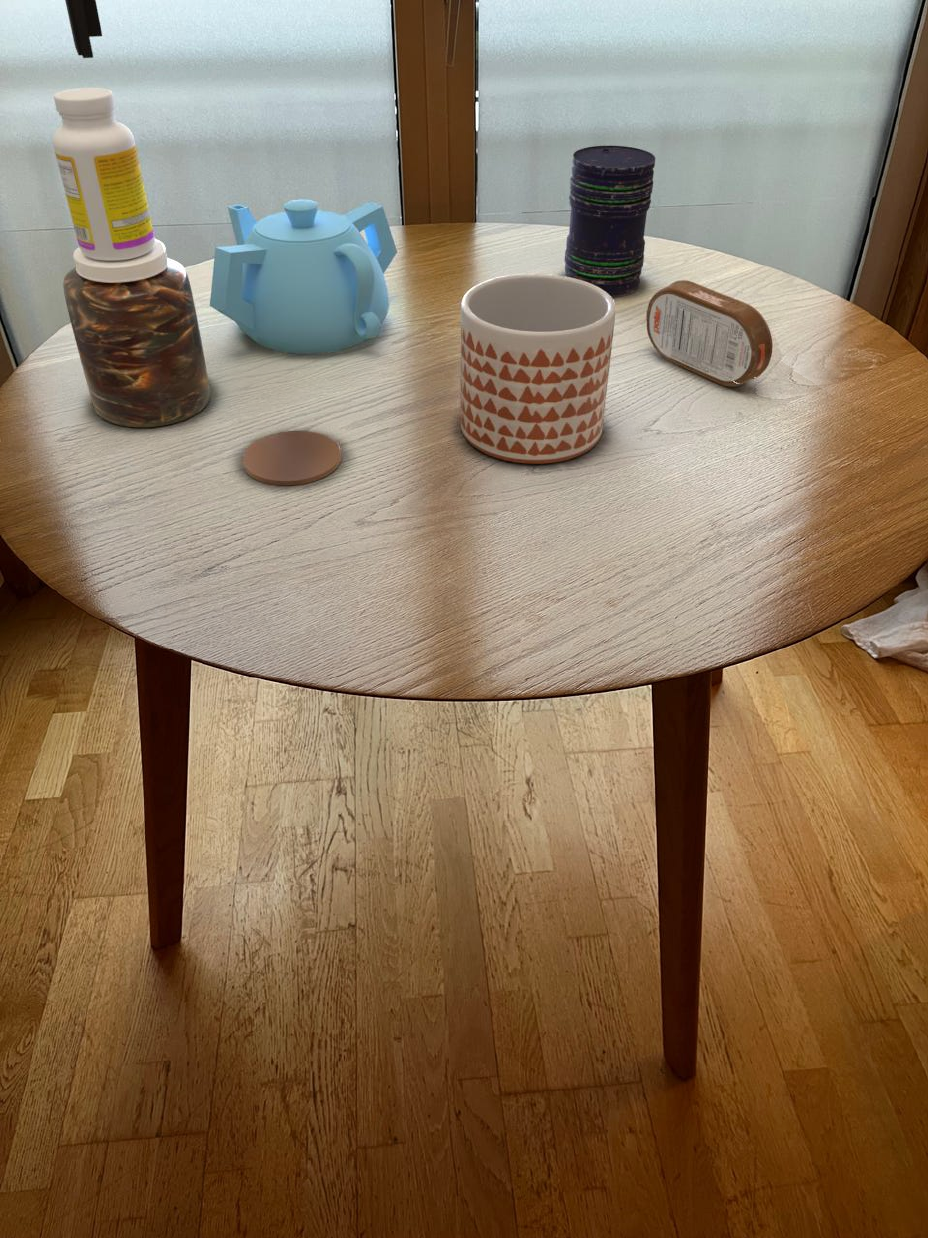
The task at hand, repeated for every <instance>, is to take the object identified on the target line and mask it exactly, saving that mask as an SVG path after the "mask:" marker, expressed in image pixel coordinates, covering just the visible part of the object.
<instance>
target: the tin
mask: <svg viewBox="0 0 928 1238" xmlns="http://www.w3.org/2000/svg"><path fill="white" fill-rule="evenodd" d="M645 319H646V320H645V321H646V332H647V335H648V338H649V341H650V343H651V345H652V347H653V348H654V349H655V351H656V352H657V353H658V355H660V356H661V357H662V358H664V359H665V360H667V361H668V362H671V363H673V364H675V365H677V366H679V367H682V368H684V369H686V370H688V371H690V372H693V373H695V374H696V375H699V376H701V377H703V378H706V379H707V380H709V381H712V382H714V383H716V384H718V385H721V386H725V387H737V386H741V385H742V384H741V383H743V384H745V383H747V382H749V381H751V380H754V379H755V378H754V377H756V378H758V377H760V376H761V375H762V374H763V373H764V372H765V371H766V369H768V367H769V364H770V362H771V360H772V356H773V348H774V347H773V338H772V332H771V330H770V327H769V325H768V323H767V321H766V319H765V318H764V316H763V315H762V314H761V313H760V312H759V311H758V309H756V308H755V307H754V306H753V305H750V304H749V303H746V302H744V301H742V300H739V299H736V298H734V297H731V296H729V295H726V294H723V293H721V292H718V291H716V290H714V289H711V288H709V287H706V286H703V285H701V284H699V283H696V282H693V281H691V280H685V279H684V280H683V279H682V280H676V281H674V282H672V283H670V284H669V285H668V286H666V287H663V288H661V289H659V290H658V291H657V292H656V293H654V294H653V296H651V298H650V299H649V301H648V305H647V309H646V318H645ZM699 366H700V367H699ZM706 369H707V370H706ZM713 372H714V373H713ZM716 373H717V374H716ZM718 374H720V375H718ZM721 375H722V376H721ZM723 376H725V377H728V378H730V379H731V380H734V381H735V382H737V383H740V384H736V383H734V382H733V381H731V380H729V379H727V378H725V377H723Z"/></svg>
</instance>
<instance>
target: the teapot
mask: <svg viewBox="0 0 928 1238" xmlns="http://www.w3.org/2000/svg"><path fill="white" fill-rule="evenodd" d="M318 206H319V203H318V202H316V201H314V200H311V199H304V198H301V199H299V198H298V199H292V200H290V201H287V202H285V203H284V204H283V208H284V211H280V212H275V213H272V214H269V215H266V216H264V217H262V218H261V219H259V220H258V221H257V220H256V219H255V217H254V216H253V214H252V213H251V211H250V208H249V206H246V205H243V204H240V203H237V204H233V205H229V206H227V210H228V214H229V219H230V222H231V226H232V230H233V235H234V238H235V242H236V245H226V246H216V247H215V248H214V256H213V257H214V258H213V268H212V278H211V279H212V280H211V289H210V298H209V307H211V308H212V309H214V310H216V311H217V312H219V313H220V314H222V315H223V316H225V317H227V318H228V319H229V320H232V321H233V322H235V324H236V325H237V326H238V328H239V329H240V330H241V331H242V332H243V333H245V334H246V335H247V336H248V337H249V338H250V339H251V340H253V341H254V342H256V343H257V344H258V345H259V346H262V347H264V348H265V349H269V350H271V351H275V352H280V353H284V354H285V353H286V354H295V355H318V354H327V353H334V352H339V351H342V350H346V349H349V348H351V347H355V346H357V345H359V344H361V343H362V342H365V341H366V340H368V339H374V338H376V337H377V336H378V335H379V334H380V333H381V331H382V330H381V329H382V323H383V322H384V320H385V319H386V317H387V315H388V312H389V308H390V299H389V298H390V297H389V291H388V290H389V289H388V286H387V281H386V279H385V275H384V274H385V273H386V271H387V269H388V267H389V266H390V265H391V263H392V261H393V260H394V258H395V257H396V255H397V253H398V249H397V247H396V244H395V240H394V237H393V235H392V231H391V228H390V225H389V222H388V218H387V216H386V213H385V210H384V207H383V205H380V204H377V203H375V202H372V201H367V202H366V203H363V204H362V205H360V206H358V207H355V208H354V209H352V210H350V211H348V212H346V213H344V214H340V213H338V212H334V211H330V210H329V211H328V210H323V209H318ZM362 231H364V235H365V238H366V239H365V238H364V236H363V235H362V234H361V232H362Z"/></svg>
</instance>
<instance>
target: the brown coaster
mask: <svg viewBox="0 0 928 1238" xmlns="http://www.w3.org/2000/svg"><path fill="white" fill-rule="evenodd" d="M241 462H242V466H243V469H244V471H245V473H246V474H247V475H248V476H250V477H251V478H253V479H254V480H256V481H258V482H261V483H263V484H268V485H272V486H273V485H274V486H299V485H305V484H310V483H313V482H316V481H318V480H322V479H324V478H326V477H327V476H329V475H330V474H331V475H332V473H333V472H334V471H335V470H336V469H337V468H338V467H339V466H340V464H341V462H342V449H341V446H340V445H339V444H338V442H336V441H335V440H334V439H333V438H332V437H329V436H328V435H325V434H323V433H319V432H315V431H309V430H287V431H279V432H276V433H272V434H268V435H266V436H263V437H261V438H259V439H257V440H255V441H254V442H252V443H251V444H250V445H248V446H247V448H246V449H245V450H244V452H243V455H242V461H241Z"/></svg>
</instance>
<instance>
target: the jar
mask: <svg viewBox="0 0 928 1238" xmlns="http://www.w3.org/2000/svg"><path fill="white" fill-rule="evenodd" d="M72 256H73V261H74V264H75V267H73V268H71V269H70V270H69V271H68V272H67V273H66V274H65V275H64V277H63V281H62V286H63V287H62V288H63V294H64V295H63V296H64V300H65V303H66V308H67V313H68V316H69V321H70V325H71V329H72V332H73V337H74V341H75V344H76V347H77V348H76V349H77V351H78V352H77V353H78V355H79V359H80V362H81V366H82V370H83V374H84V378H85V382H86V384H87V389H88V392H89V395H90V399H91V403H92V406H93V409H94V411H95V413H96V414H97V415H98V416H99V417H100V418H101V419H103V420H104V421H106V422H108V423H111V424H113V425H117V426H120V427H121V426H122V427H128V428H155V427H156V428H157V427H163V426H168V425H173V424H176V423H179V422H182V421H185V420H187V419H190V418H192V417H194V416H195V415H197V414H198V413H200V412H201V411H202V410H204V409H205V408H206V406H208V404H209V402H210V400H211V388H210V382H209V376H208V370H207V363H206V359H205V353H204V352H205V351H204V347H203V343H202V337H201V331H200V326H199V319H198V315H197V309H196V304H195V299H194V295H193V290H192V287H191V282H190V278H189V275H188V273H187V270H186V268H185V267H184V266H183V265H182V263H180V262H178V261H177V260H175V259H173V258H170V257H168V254H167V248H166V246H165V244H164V243H163V242H162V241H160V240H159V239H156V238H155V244H154V247H153V248H152V249H151V250H150V251H149V252H148V253H146V254H144V255H142V256H139V257H136V258H132V259H127V260H118V261H104V260H96V259H92V258H89V257H87V256H86V255H84V254H83V253H82V251H81V249H80V247H79V246H78V247H77V248H76V249H74V251H73V255H72Z"/></svg>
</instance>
